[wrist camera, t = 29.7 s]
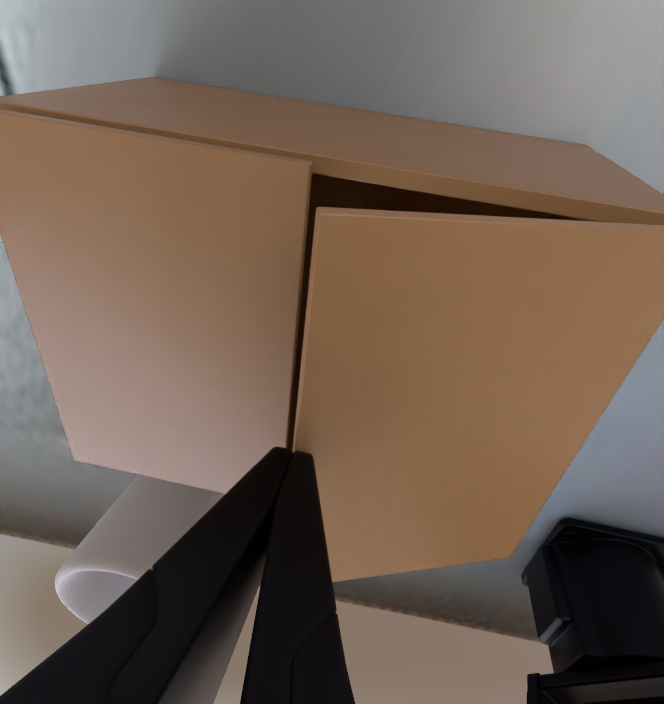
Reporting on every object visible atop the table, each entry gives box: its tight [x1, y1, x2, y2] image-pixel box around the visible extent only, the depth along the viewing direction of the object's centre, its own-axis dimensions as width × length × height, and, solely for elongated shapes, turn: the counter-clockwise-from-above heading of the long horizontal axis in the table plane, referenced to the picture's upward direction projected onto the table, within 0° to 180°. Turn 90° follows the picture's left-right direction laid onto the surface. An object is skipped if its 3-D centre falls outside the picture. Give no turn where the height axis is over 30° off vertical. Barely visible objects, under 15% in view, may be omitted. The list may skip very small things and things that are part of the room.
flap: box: [293, 207, 664, 582], centre depth 10 cm, size 7×11×1 cm
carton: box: [0, 77, 664, 494], centre depth 15 cm, size 15×11×8 cm
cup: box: [55, 474, 225, 624], centre depth 24 cm, size 11×8×8 cm
